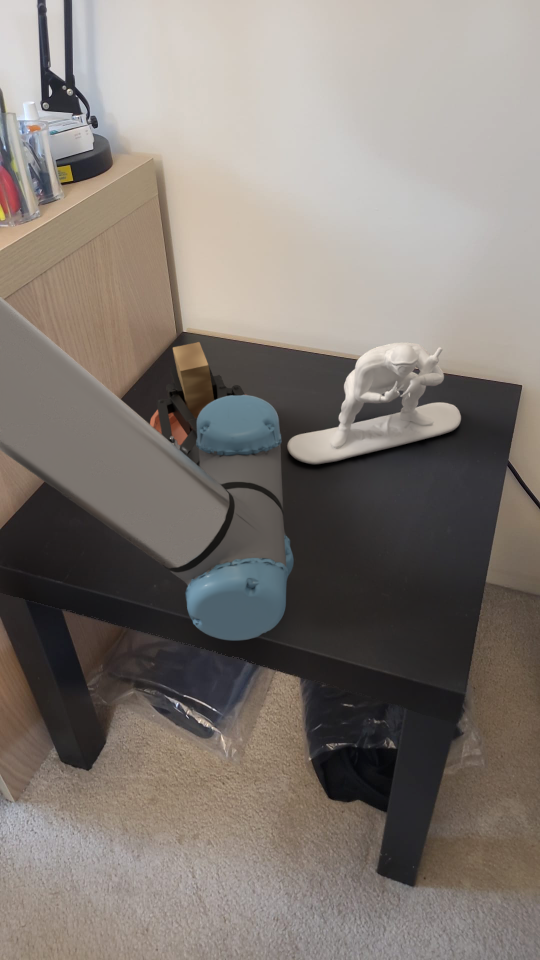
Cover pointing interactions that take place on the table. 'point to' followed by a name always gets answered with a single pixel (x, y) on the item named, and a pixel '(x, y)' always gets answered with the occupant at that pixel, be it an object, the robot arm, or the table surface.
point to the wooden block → (194, 376)
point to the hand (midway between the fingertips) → (189, 371)
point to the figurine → (366, 384)
